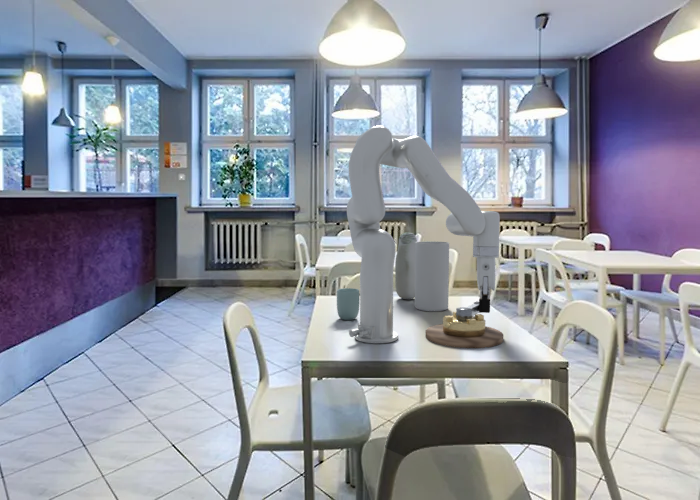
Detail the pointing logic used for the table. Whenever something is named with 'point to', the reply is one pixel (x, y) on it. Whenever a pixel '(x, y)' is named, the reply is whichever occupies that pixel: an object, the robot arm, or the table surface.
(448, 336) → the lever base
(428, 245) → the cylinder vase
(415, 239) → the glass bottle
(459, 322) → the grey lever
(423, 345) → the table surface
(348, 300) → the cup
